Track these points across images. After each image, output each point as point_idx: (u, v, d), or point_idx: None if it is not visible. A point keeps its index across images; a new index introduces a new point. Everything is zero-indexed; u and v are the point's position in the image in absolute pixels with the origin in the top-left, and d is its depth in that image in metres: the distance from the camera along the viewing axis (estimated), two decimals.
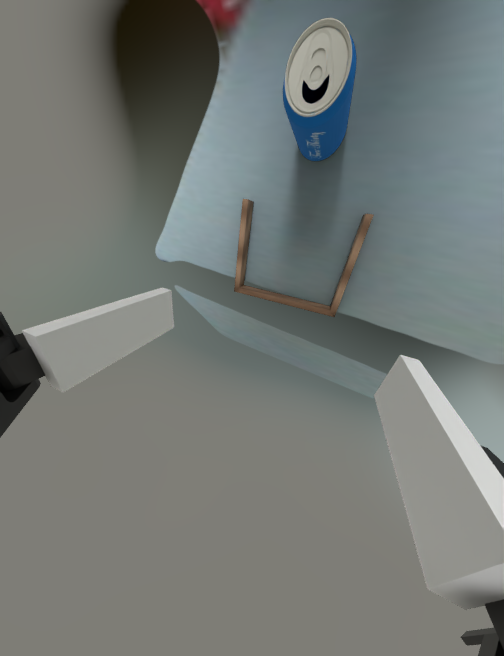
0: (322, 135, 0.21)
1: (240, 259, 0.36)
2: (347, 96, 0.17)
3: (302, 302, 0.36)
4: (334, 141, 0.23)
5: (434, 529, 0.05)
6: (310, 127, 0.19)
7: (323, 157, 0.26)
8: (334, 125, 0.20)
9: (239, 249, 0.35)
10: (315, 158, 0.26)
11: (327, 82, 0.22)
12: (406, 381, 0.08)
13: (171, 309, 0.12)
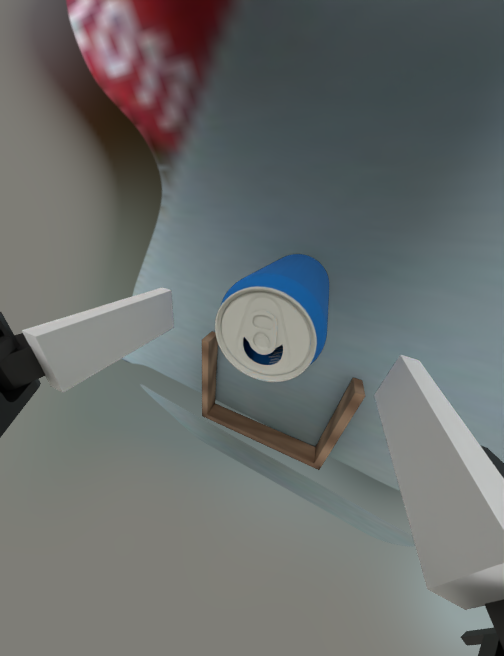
0: None
1: (205, 391, 0.29)
2: None
3: (281, 443, 0.29)
4: None
5: (434, 529, 0.05)
6: None
7: None
8: None
9: (203, 382, 0.29)
10: None
11: (297, 257, 0.16)
12: (406, 381, 0.08)
13: (171, 309, 0.12)
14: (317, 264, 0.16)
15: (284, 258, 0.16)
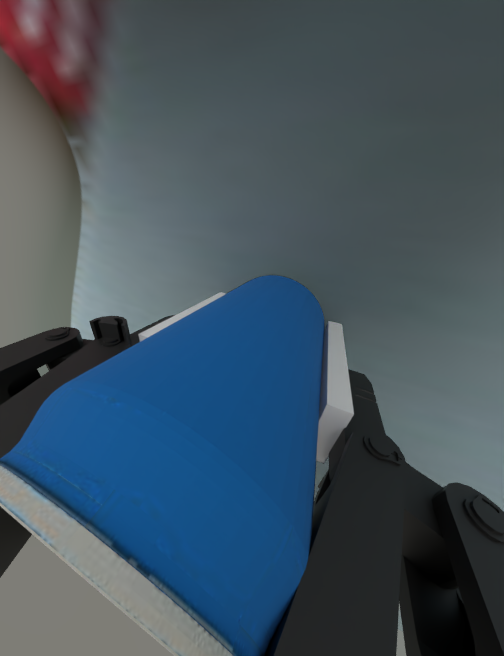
0: None
1: None
2: None
3: None
4: None
5: None
6: None
7: None
8: None
9: None
10: None
11: (267, 286, 0.09)
12: (326, 337, 0.10)
13: None
14: (303, 296, 0.10)
15: (245, 287, 0.09)
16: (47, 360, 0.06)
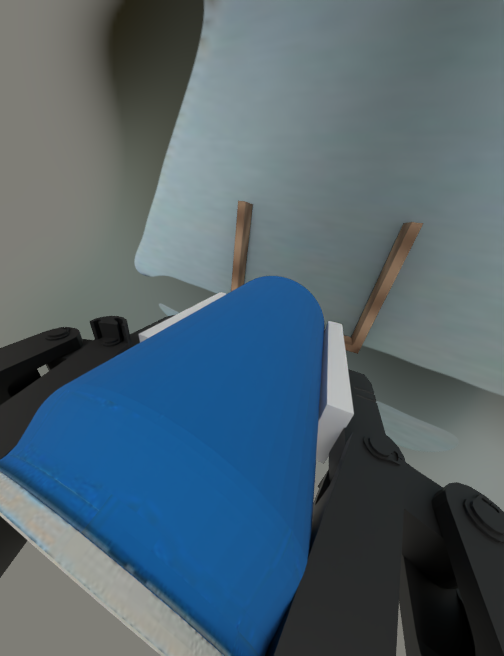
0: None
1: (236, 278, 0.28)
2: None
3: None
4: None
5: None
6: None
7: None
8: None
9: (234, 265, 0.27)
10: None
11: (267, 287, 0.09)
12: (326, 337, 0.10)
13: None
14: (303, 297, 0.09)
15: (244, 288, 0.09)
16: (47, 360, 0.06)
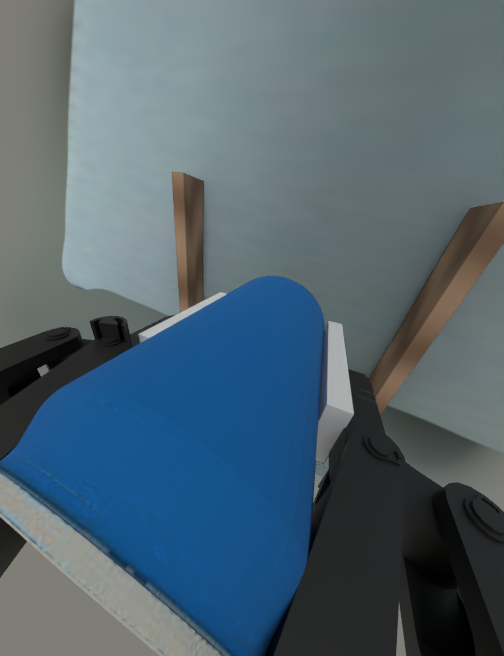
0: None
1: (185, 298, 0.18)
2: None
3: None
4: None
5: None
6: None
7: None
8: None
9: (180, 279, 0.17)
10: None
11: (266, 287, 0.09)
12: (326, 337, 0.10)
13: None
14: (303, 297, 0.09)
15: (244, 288, 0.09)
16: (47, 360, 0.06)
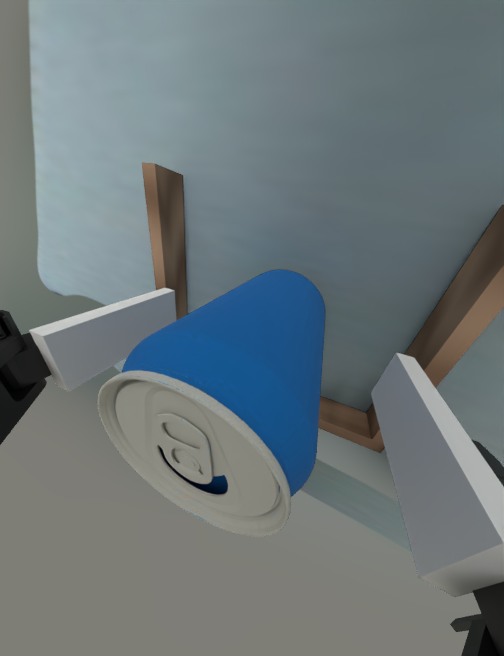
0: None
1: None
2: None
3: None
4: None
5: (425, 520, 0.05)
6: None
7: None
8: None
9: (158, 287, 0.15)
10: None
11: (277, 277, 0.10)
12: (402, 378, 0.08)
13: (174, 309, 0.12)
14: (307, 286, 0.11)
15: (258, 278, 0.11)
16: None
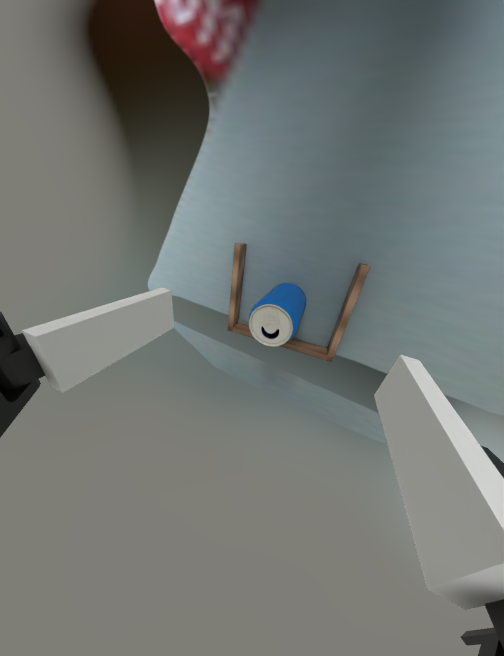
0: None
1: (233, 300, 0.34)
2: None
3: (298, 344, 0.34)
4: None
5: (434, 529, 0.05)
6: None
7: None
8: None
9: (232, 290, 0.34)
10: None
11: (286, 286, 0.29)
12: (406, 381, 0.08)
13: (171, 309, 0.12)
14: (298, 289, 0.30)
15: (280, 287, 0.29)
16: None
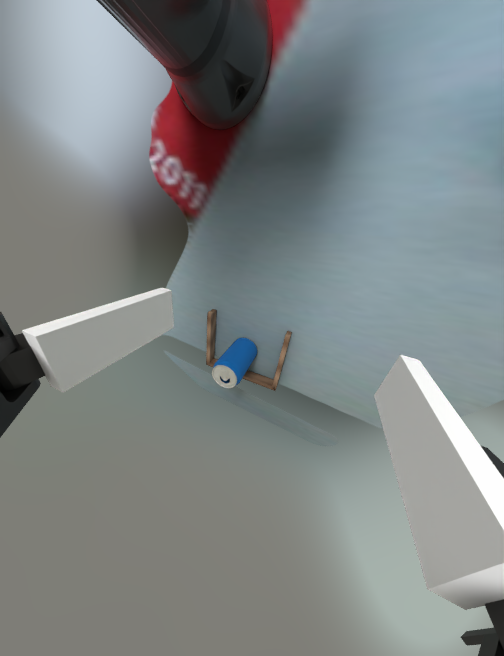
0: None
1: (209, 346, 0.49)
2: None
3: (254, 377, 0.49)
4: None
5: (434, 529, 0.05)
6: None
7: None
8: None
9: (207, 340, 0.48)
10: None
11: (241, 343, 0.44)
12: (406, 381, 0.08)
13: (171, 309, 0.12)
14: (249, 344, 0.44)
15: (237, 343, 0.44)
16: None
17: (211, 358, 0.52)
